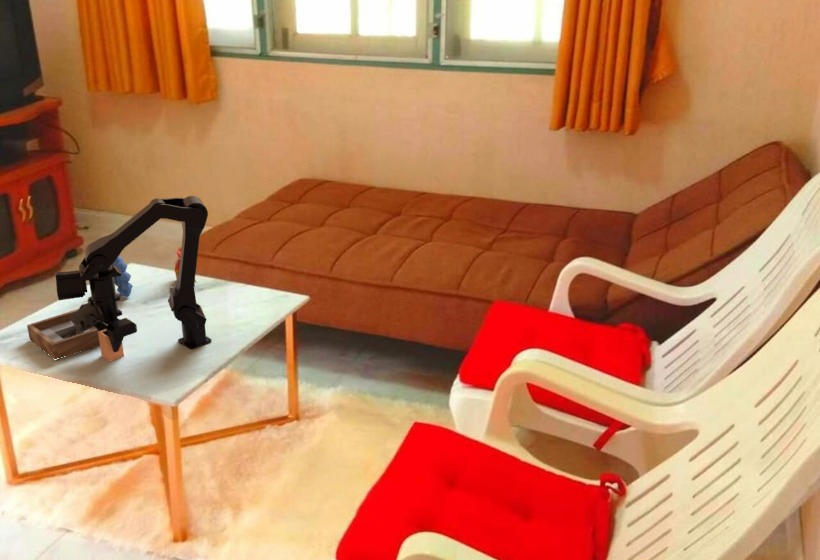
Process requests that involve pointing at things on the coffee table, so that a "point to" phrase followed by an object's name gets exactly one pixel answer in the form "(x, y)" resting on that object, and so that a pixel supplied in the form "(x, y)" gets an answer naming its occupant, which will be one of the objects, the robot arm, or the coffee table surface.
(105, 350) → the peg
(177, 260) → the bird rattle
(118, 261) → the grapes
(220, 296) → the coffee table surface
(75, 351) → the socket box
